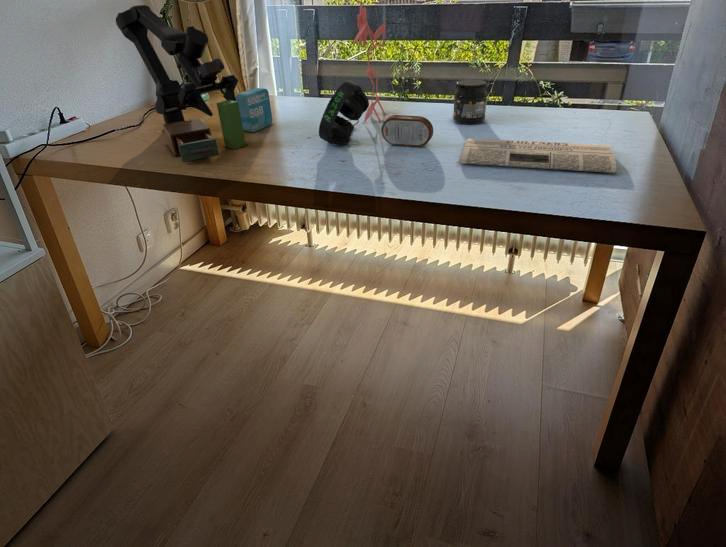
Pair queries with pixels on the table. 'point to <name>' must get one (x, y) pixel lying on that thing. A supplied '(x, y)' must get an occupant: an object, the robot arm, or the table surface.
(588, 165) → the newspaper
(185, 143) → the drawer
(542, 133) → the table surface
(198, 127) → the cabinet
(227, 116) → the green beveled box
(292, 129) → the table surface
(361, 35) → the figurine
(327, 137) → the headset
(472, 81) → the supplement container
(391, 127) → the tin
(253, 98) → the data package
